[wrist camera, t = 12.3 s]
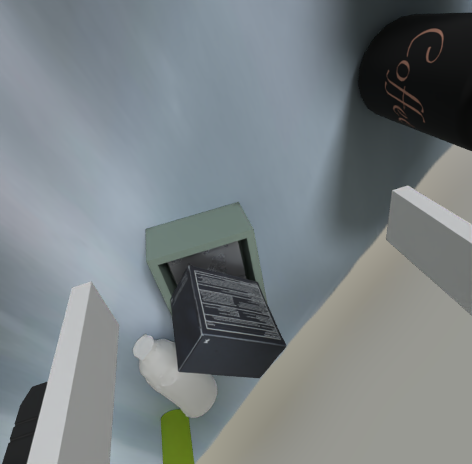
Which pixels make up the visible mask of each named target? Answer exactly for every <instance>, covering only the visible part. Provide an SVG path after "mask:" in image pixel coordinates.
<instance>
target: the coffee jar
mask: <svg viewBox="0 0 472 464" xmlns="http://www.w3.org/2000/svg"><path fill="white" fill-rule="evenodd" d="M358 82H359V89H360V94H361V98H362V99H363V101H364V103H365V104H366V106H367V107H368V109H370V110H371V111H373V112H374V113H376V114H378V115H380V116H383V117H385V118H388V119H390V120H393V121H396V122H398V123H401V124H403V125H406V126H408V127H411V128H414V129H416V130H419V131H421V132H424V133H426V134H429V135H431V136H434V137H437V138H439V139H442V140H444V141H447V142H449V143H452V144H454V145H457V146H460V147H462V148H465V149H467V150H470V151H472V13H443V14H414V15H409V16H403V17H400V18H399V19H397V20H395V21H394V22H392V23H390V24H389V25H387V26H386V27H385V28H384V29H383V30H382V31H381V32H380V33H379V34H378V35H377V36H376V37H375V38H374V39H373V41H372V42H371V44H370V46H369V47H368V49H367V51H366V52H365V54H364V57H363V60H362V63H361V66H360V69H359V81H358Z"/></svg>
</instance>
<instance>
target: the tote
mask: <svg viewBox="0 0 472 464" xmlns="http://www.w3.org/2000/svg"><path fill="white" fill-rule="evenodd" d="M235 241H238V244H239V248H240V253H241V257H242V262H243V266H244V270H245V276H246V279H248V280H252V281H256V282H258V283H259V286H260V288H261V291H262V293H263V295H264V298H265V300H266V294H265V289H264V283H263V278H262V273H261V267H260V262H259V256H258V251H257V246H256V240H255V235H254V229H253V227H252V225H251V224H250V222H249V220H248V218H247V216H246V214H245V213H244V211H243V209H242V207H241V205H240V203H239V202H237V203H233V204H230V205H226V206H223V207H219V208H216V209H213V210H209V211H206V212H202V213H199V214H196V215H192V216H189V217H185V218H182V219H178V220H175V221H172V222H168V223H165V224H161V225H158V226H155V227H151V228H148V229H146V262H147V264H148V266H149V268H150V270H151V272H152V274H153V277H154V279H155V281H156V283H157V285H158V287H159V289H160V292H161V294H162V296H163V298H164V300H165V302H166V304H167V306H168V309H169V311H170V313H171V315H172V310H171V302H170V299H171V297H172V294H173V292H174V290H175V289H176V287H177V283H176V281H175V278H174V276H173V274H172V271H171V269H170V266H169V264H168V262H170V261H173V260H176V259H180V258H183V257H186V256H190V255H193V254H196V253H199V252H203V251H206V250H209V249H212V248H216V247H219V246H222V245H226V244H229V243H232V242H235ZM266 302H267V300H266Z"/></svg>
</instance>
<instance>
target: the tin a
mask: <svg viewBox="0 0 472 464" xmlns="http://www.w3.org/2000/svg"><path fill="white" fill-rule="evenodd" d="M168 264H169V266H170V269H171V271H172V274H173V276H174V278H175V281H176V283H177V285H178V284H179V282H180V280H181V278H182V276H183V274H184V273H185V270H186V268H187V267H188V266H189V265H191V266H195V267H199V268H204V269H208V270H212V271H216V272H220V273H224V274H228V275H232V276H236V277H237V276H240V275H243V274H245V270H244V266H243V262H242V257H241V253H240V248H239V244H238V241H235V242H232V243H229V244H226V245H222V246H219V247H216V248H212V249H209V250H206V251H203V252H199V253H196V254H193V255H190V256H186V257H183V258H180V259H176V260H173V261H170V262H168Z"/></svg>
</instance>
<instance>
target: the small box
mask: <svg viewBox="0 0 472 464" xmlns="http://www.w3.org/2000/svg"><path fill="white" fill-rule="evenodd" d="M170 302H171V310H172V319H173V328H174V337H175V346H176V355H177V365H178V372H184V373H198V374H211V375H225V376H238V377H251V378H260V377H261V376H262V375H263V374H264V373H265V371H266V370H267V369H268V368H269V367H270V365H271V364H272V363H273V362H274V360H275V359H276V358H277V357H278V356H279V354H280V353H281V352H282V351H283V350H284V349H285V348H286V344H285V341H284V340H283V338H282V336H281V334H280V332H279V330H278V328H277V325H276V324H275V321H274V318H273V316H272V314H271V312H270V309H269V307H268V305H267V302H266V300H265V298H264V295H263V293H262V291H261V288H260V286H259V283H258V282H256V281H252V280H248V279H244V278H240V277H236V276H232V275H228V274H224V273H220V272H216V271H212V270H208V269H204V268H199V267H195V266H191V265H189V266H188V267H187V268H186V270H185V273H184V274H183V276H182V278H181V280H180V282H179V284H178V285H177V287H176V289H175V290H174V292H173V294H172V297H171V299H170Z"/></svg>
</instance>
